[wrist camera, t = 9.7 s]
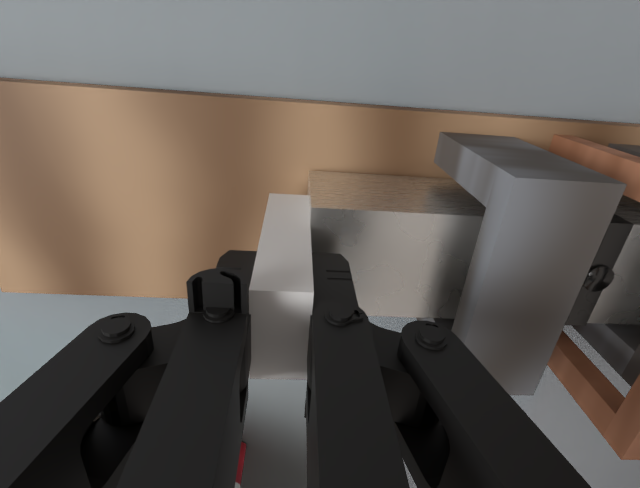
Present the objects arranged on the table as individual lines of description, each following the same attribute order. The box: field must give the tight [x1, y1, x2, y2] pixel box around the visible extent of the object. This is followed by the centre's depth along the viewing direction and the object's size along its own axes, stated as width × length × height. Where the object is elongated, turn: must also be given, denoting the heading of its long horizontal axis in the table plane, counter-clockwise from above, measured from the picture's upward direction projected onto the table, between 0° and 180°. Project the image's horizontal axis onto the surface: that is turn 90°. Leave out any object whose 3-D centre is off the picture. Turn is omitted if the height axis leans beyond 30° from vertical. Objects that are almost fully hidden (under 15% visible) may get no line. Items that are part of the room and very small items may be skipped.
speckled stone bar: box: [307, 171, 640, 326], centre depth 15 cm, size 16×4×4 cm, turn 86°
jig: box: [0, 78, 640, 460], centre depth 13 cm, size 32×9×9 cm, turn 86°
